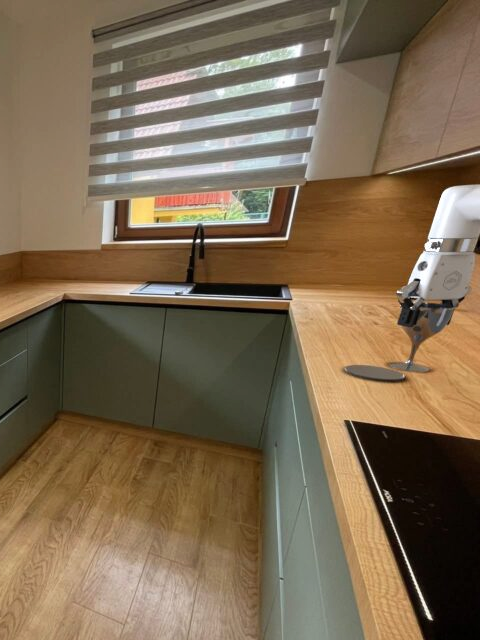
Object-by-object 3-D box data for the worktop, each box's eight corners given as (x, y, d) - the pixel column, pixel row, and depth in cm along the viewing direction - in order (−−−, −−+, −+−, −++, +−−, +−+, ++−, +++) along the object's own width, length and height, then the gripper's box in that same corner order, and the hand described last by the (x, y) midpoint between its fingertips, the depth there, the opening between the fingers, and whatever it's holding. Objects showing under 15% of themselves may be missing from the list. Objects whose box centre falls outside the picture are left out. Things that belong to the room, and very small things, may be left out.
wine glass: (377, 361, 108) (396, 302, 102) (415, 362, 106) (436, 302, 101) (400, 372, 100) (421, 308, 95) (441, 372, 99) (465, 308, 93)
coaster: (372, 366, 105) (373, 363, 105) (417, 380, 95) (418, 377, 95) (332, 368, 104) (333, 366, 104) (373, 383, 95) (373, 380, 94)
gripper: (430, 249, 89) (403, 330, 96) (507, 245, 90) (476, 326, 96) (394, 247, 96) (371, 323, 103) (466, 244, 97) (439, 319, 103)
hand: (422, 324), depth 99 cm, fingers closed on wine glass, 8 cm apart
